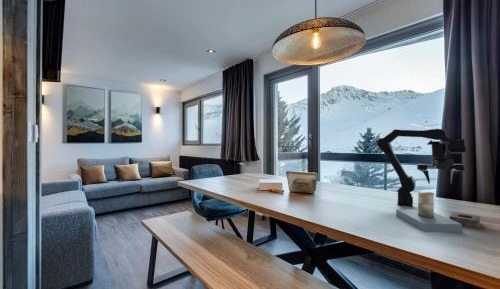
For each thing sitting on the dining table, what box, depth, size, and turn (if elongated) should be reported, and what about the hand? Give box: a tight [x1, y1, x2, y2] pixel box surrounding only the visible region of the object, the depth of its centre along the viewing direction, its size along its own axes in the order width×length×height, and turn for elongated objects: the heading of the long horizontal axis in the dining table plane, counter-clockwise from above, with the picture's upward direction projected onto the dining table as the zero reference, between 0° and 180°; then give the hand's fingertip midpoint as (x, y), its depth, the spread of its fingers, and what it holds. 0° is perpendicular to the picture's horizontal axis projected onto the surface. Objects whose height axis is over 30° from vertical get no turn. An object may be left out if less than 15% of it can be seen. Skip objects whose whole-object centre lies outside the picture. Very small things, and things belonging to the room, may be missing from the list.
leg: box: [417, 190, 435, 218], centre depth 104 cm, size 6×6×13 cm
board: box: [395, 208, 463, 233], centre depth 104 cm, size 20×14×3 cm
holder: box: [449, 211, 481, 230], centre depth 104 cm, size 9×9×3 cm
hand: (440, 183), depth 125 cm, fingers open, 9 cm apart
